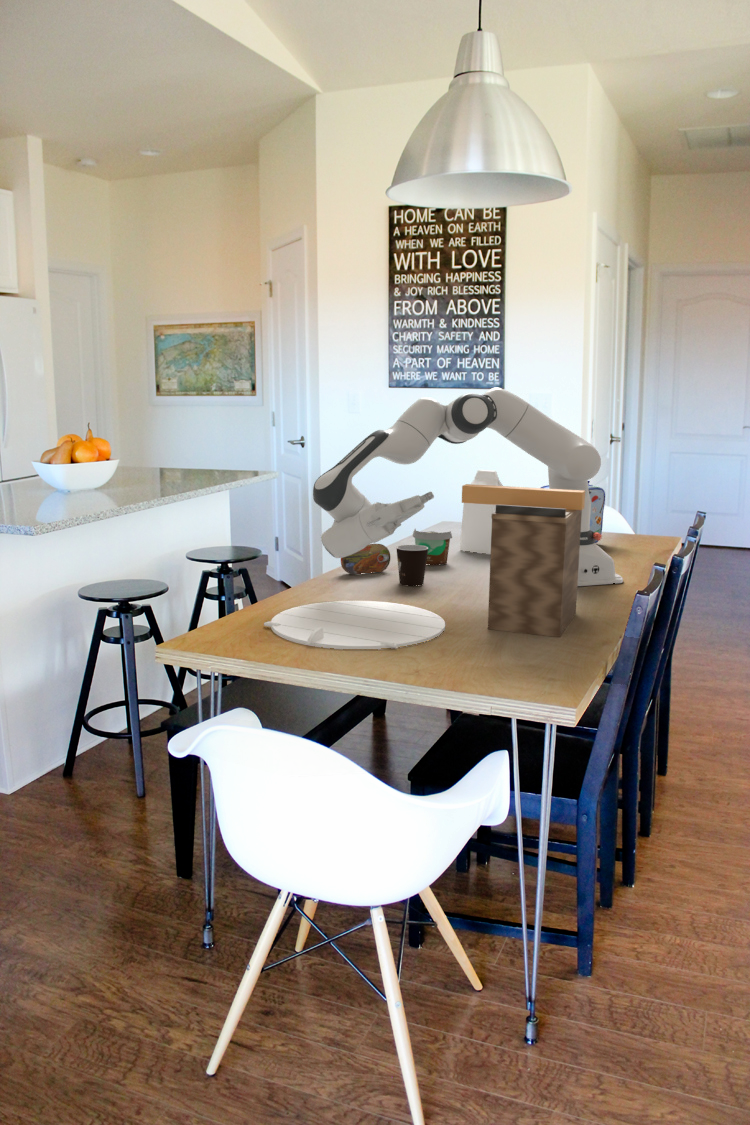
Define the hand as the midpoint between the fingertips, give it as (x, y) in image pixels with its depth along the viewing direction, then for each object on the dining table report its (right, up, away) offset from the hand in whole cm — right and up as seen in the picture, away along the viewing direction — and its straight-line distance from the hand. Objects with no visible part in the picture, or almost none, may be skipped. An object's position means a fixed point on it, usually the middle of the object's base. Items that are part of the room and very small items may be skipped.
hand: (426, 496), depth 221 cm
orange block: (+22, -3, -8) cm, 23 cm away
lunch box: (+53, -10, +89) cm, 104 cm away
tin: (-15, -19, +41) cm, 47 cm away
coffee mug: (-2, -22, +29) cm, 36 cm away
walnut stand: (+24, -30, -10) cm, 39 cm away
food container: (+4, -17, +55) cm, 57 cm away
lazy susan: (-16, -31, -15) cm, 38 cm away
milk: (+23, -12, +78) cm, 83 cm away
